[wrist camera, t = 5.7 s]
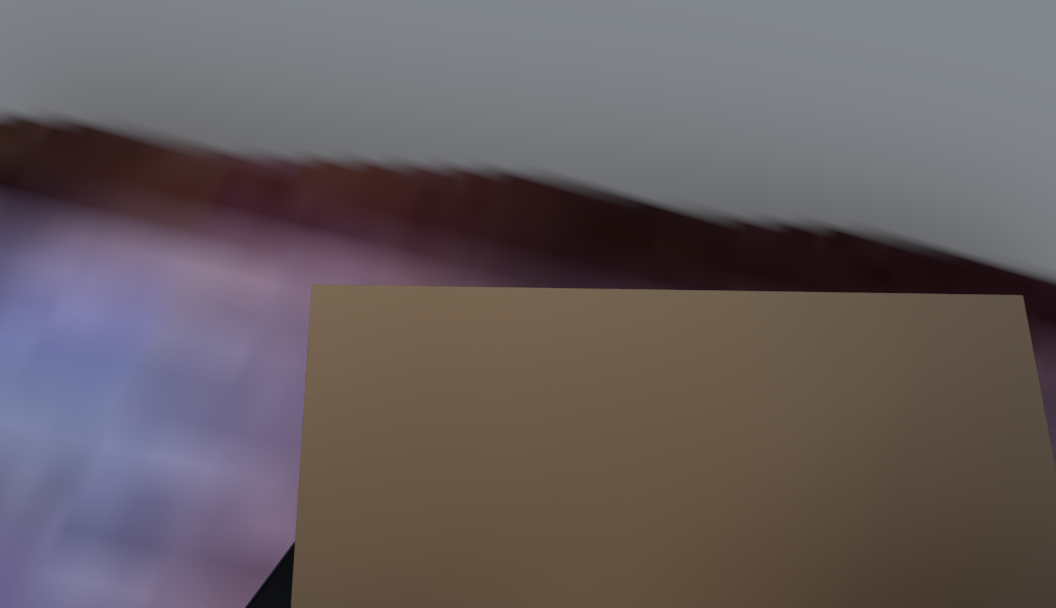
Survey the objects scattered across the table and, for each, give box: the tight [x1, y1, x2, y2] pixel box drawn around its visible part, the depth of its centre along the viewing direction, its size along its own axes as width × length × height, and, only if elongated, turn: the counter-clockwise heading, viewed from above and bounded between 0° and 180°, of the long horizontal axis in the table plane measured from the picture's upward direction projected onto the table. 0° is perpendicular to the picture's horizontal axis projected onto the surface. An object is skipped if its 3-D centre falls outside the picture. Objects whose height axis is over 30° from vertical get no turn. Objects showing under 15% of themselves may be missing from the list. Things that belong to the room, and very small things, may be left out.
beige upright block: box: [291, 284, 1056, 608], centre depth 9 cm, size 6×5×11 cm
